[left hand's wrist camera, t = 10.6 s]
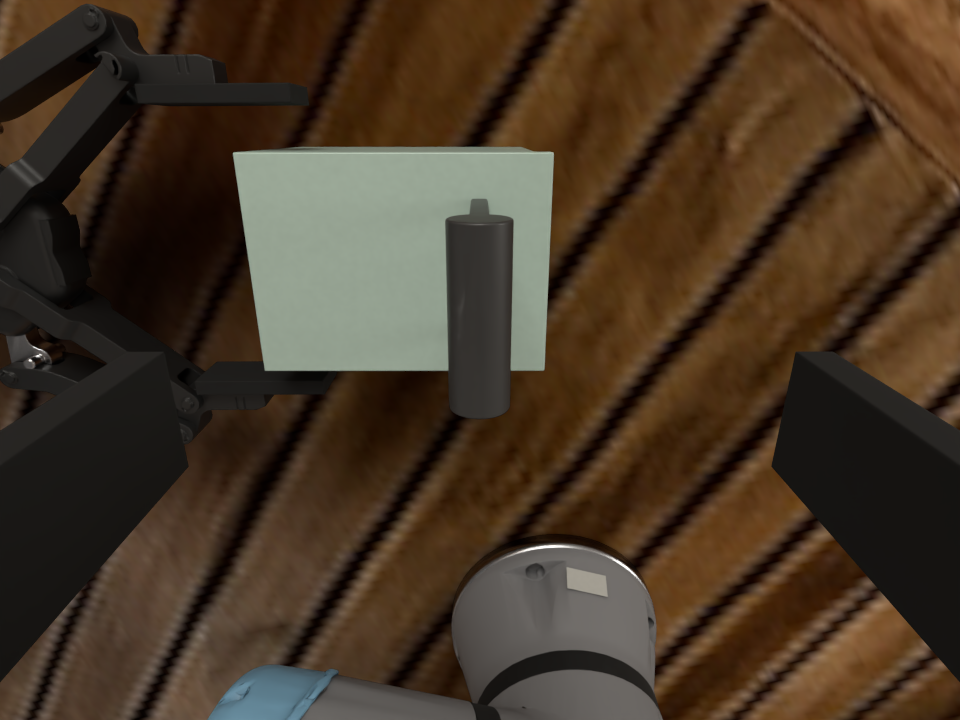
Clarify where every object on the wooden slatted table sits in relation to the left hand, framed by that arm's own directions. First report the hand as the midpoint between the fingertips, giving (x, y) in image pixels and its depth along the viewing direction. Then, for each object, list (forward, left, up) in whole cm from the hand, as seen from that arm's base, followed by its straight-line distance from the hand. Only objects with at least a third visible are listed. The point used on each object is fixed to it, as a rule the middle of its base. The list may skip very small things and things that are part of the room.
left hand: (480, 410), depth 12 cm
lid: (-2, +3, -15) cm, 15 cm away
